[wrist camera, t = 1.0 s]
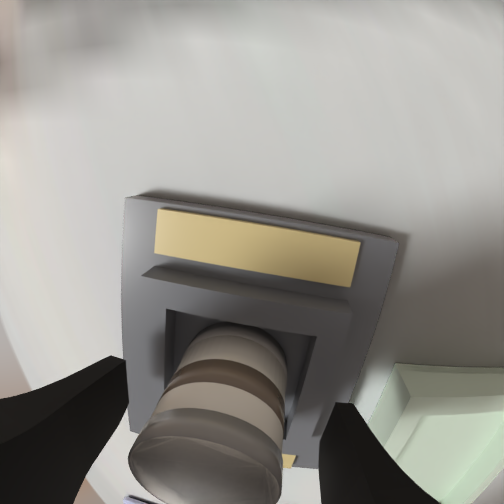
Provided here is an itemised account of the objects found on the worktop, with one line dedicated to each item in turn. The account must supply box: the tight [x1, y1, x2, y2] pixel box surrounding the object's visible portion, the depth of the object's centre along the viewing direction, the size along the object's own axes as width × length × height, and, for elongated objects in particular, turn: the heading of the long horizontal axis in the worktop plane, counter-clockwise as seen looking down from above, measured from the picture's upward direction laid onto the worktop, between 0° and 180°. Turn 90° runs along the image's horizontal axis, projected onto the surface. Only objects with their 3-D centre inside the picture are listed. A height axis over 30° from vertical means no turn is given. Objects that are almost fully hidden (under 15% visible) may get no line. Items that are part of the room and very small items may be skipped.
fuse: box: [128, 322, 287, 504], centre depth 10 cm, size 4×4×6 cm
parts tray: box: [368, 363, 504, 504], centre depth 13 cm, size 13×10×2 cm
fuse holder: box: [121, 195, 399, 469], centre depth 12 cm, size 12×10×2 cm
